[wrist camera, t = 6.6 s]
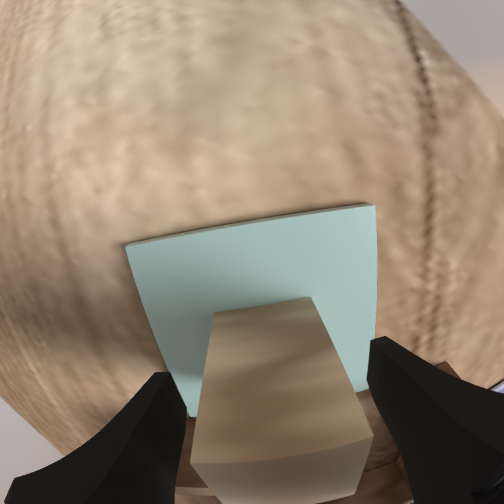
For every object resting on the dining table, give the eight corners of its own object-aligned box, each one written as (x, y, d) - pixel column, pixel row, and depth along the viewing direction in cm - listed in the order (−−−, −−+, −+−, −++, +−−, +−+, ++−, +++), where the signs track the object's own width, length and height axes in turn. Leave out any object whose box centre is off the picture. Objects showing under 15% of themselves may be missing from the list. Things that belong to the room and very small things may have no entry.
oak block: (310, 296, 11) (374, 436, 5) (315, 368, 12) (354, 494, 6) (214, 312, 11) (190, 463, 5) (233, 381, 13) (230, 512, 6)
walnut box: (446, 360, 14) (487, 410, 9) (404, 461, 18) (420, 499, 13) (161, 417, 14) (144, 485, 9) (219, 498, 19) (217, 540, 14)
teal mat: (368, 203, 11) (374, 205, 10) (365, 382, 14) (368, 389, 13) (130, 242, 11) (124, 246, 10) (191, 409, 14) (190, 417, 13)
